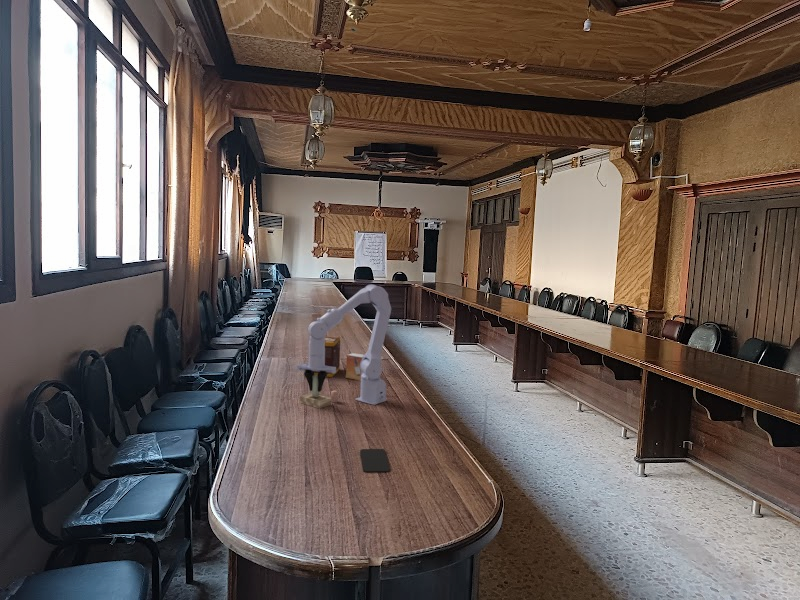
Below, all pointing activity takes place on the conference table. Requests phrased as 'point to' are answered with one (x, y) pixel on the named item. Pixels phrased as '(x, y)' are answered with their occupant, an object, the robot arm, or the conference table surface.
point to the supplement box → (331, 354)
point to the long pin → (315, 386)
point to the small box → (354, 366)
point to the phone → (374, 460)
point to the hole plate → (315, 400)
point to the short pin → (334, 396)
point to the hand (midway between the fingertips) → (315, 390)
